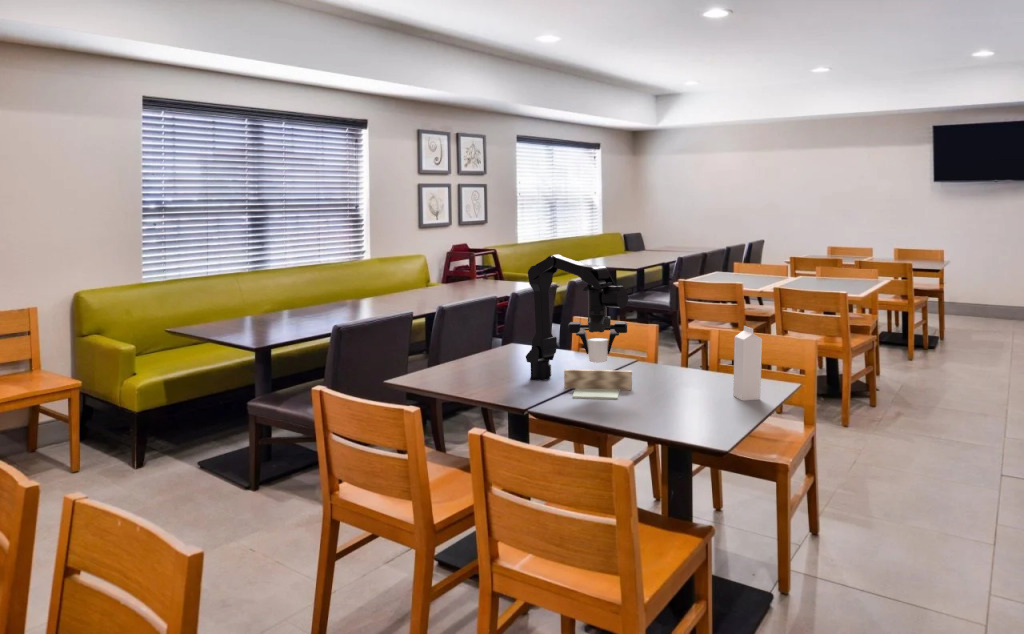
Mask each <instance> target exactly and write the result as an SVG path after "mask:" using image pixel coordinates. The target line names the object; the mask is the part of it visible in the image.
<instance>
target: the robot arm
mask: <svg viewBox="0 0 1024 634" xmlns="http://www.w3.org/2000/svg"><path fill="white" fill-rule="evenodd" d="M558 271H563V272H566V273H568V274H571V275H574V276H577V277H579V278H580V279H581V281H582V282H584V283H585V284H586V285H585V287H583V288H582V291H583V292H587V298H588V299H587V300H588V302H587V303H588V306H587V307H588V312H587V313H588V318H587V324H582V321H570V322H569V323H568V325H567V333H568V334H575V336H578V337H579V338H580V340H581V341H582V344H583V347H584V349H585V354H586V355H589V352H588V343H587V340H588V335H587V331H588V333H603V332H605V331H609V337H608V340H609V342H608V355H610V353H611V350H612V349H611V348H612V345H613V343H614V340H615V338H616V337H618V336H620V334H626V333H628V323H627V322H626V321H614V323H613V324H611V316H607V308H615V309H624V308H625V307H627V305H628V303H629V296H628V293H627V291H626V290H625V286H624V285H616V283H615V281H614V279H613V277H612V276H611V274H610V272H609V268H607V266H604V265H597V264H586V263H583V262H580V261H577V260H574V259H571V258H568V257H565V256H563V255H561V254H551V255H549V256H547V257H546V258H545V259H544V260H542V261H540V262H538V263H536V264H535V265H532V266H530V268H528V270H527V279H528V283H529V286H530V288H531V289H532V291H533V296H534V301H533V302H534V318H535V319H534V321H535V334H534V335H533V338H532V340H531V349H530V350H529V352H528V353H527V354H526V355H525V360H526V362H527V363H530V378H529V380H530V381H549V380H550V378H551V377H552V364H551V363H550V361H553V360H554V357H555V354H557V349H558V344H557V343H558V342H557V341H558V338H557V336H553V333H551V320H550V301H549V300H550V298H549V297H550V295H549V290H550V288H551V285H552V284H553V279H554V278H553V277H554V275H555V274H556V273H557V272H558Z"/></svg>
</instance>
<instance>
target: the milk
mask: <svg viewBox="0 0 1024 634" xmlns="http://www.w3.org/2000/svg"><path fill="white" fill-rule="evenodd" d="M733 346H734V351H733V353H734V354H733V389H732V391H733V393H732V395H733V397H734V398H737V400H740V401H742V402H744V401H755V400H756V401H757V400H758V401H759V400H761V390H762V389H761V386H762V361H763V360H762V354H763V352H762V351H763V338H762V337H760V336H758V335H757V334H754V328H752V327H749V326H747V325H743V330H742V331H740V332H739V333H738V334H736V335H734V345H733Z"/></svg>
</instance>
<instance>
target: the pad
mask: <svg viewBox="0 0 1024 634" xmlns="http://www.w3.org/2000/svg"><path fill="white" fill-rule="evenodd" d="M574 389H575V390H574V392H573V394H572V399H587V400H588V399H591V400H592V399H593V400H595V399H597V400H618V399H619V396H620V395H619V393H620V389H582V388H574Z"/></svg>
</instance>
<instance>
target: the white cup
mask: <svg viewBox="0 0 1024 634" xmlns="http://www.w3.org/2000/svg"><path fill="white" fill-rule="evenodd" d="M587 343H588V360H589V362H590V363H596V364H597V363H606V362H607V361H608V355H609V354H608V345H609V338H605V337H593V338H592V337H591V338H587Z"/></svg>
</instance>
